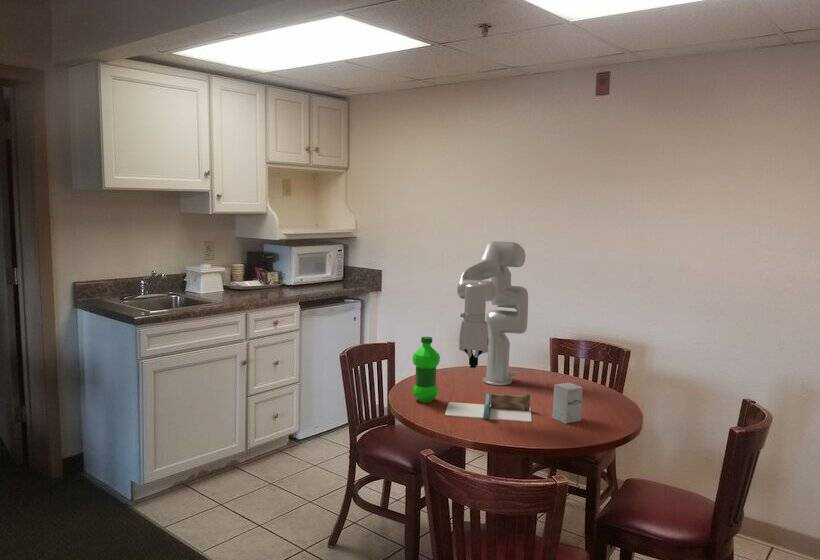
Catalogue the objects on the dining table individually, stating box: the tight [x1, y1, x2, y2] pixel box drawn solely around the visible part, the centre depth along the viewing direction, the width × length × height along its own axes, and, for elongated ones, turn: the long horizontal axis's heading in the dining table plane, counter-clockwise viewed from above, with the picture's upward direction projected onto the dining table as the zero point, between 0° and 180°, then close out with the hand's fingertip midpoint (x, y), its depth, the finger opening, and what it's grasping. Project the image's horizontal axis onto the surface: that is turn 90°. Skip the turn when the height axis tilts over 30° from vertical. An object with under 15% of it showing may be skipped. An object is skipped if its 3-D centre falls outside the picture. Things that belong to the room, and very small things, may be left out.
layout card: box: [444, 401, 533, 423], centre depth 227 cm, size 31×16×1 cm, turn 80°
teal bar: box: [483, 392, 491, 418], centre depth 225 cm, size 15×2×5 cm, turn 170°
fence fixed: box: [490, 393, 531, 411], centre depth 230 cm, size 14×2×6 cm, turn 80°
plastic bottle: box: [412, 336, 441, 403], centre depth 239 cm, size 10×10×25 cm
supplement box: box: [551, 382, 584, 424], centre depth 221 cm, size 7×7×13 cm
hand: (473, 367), depth 223 cm, fingers closed
